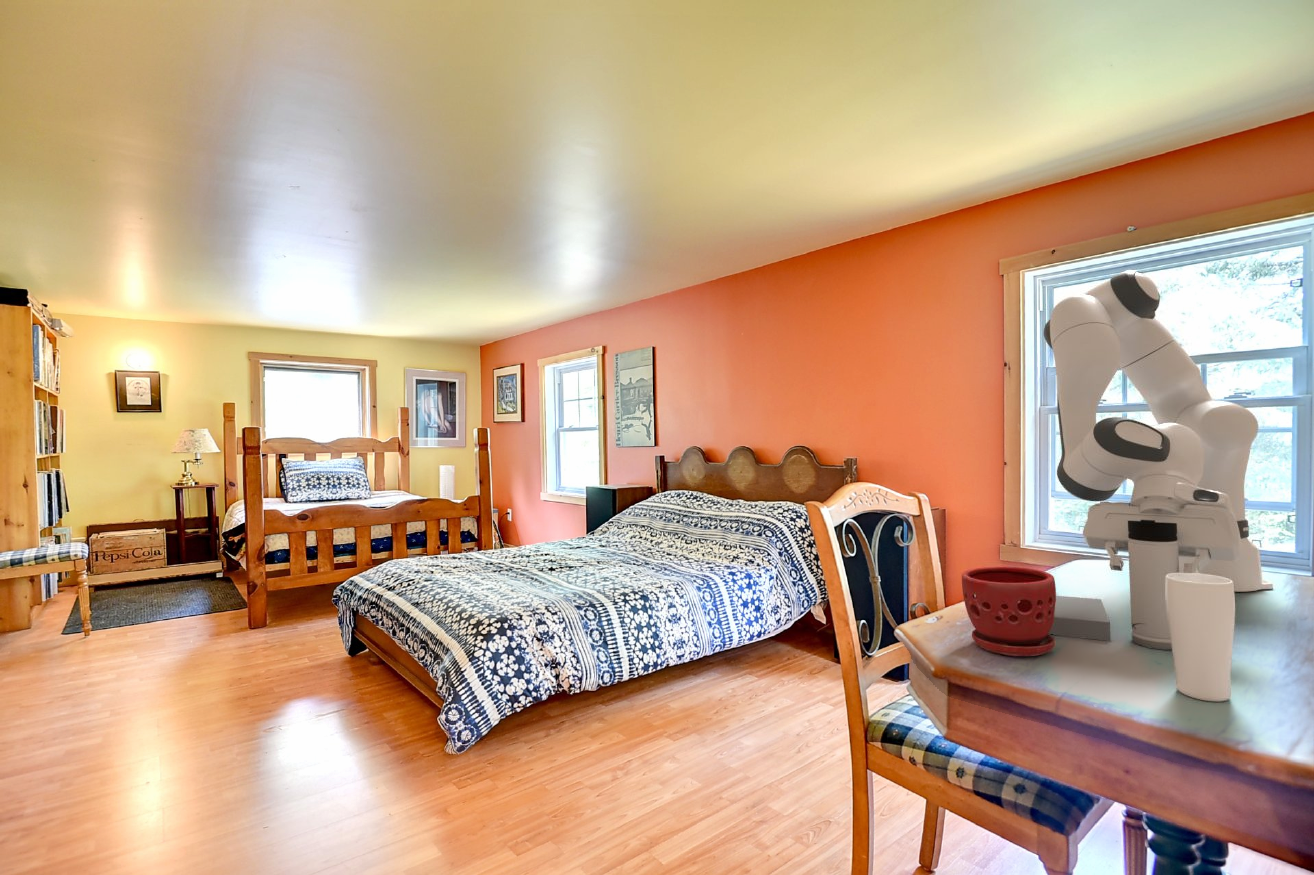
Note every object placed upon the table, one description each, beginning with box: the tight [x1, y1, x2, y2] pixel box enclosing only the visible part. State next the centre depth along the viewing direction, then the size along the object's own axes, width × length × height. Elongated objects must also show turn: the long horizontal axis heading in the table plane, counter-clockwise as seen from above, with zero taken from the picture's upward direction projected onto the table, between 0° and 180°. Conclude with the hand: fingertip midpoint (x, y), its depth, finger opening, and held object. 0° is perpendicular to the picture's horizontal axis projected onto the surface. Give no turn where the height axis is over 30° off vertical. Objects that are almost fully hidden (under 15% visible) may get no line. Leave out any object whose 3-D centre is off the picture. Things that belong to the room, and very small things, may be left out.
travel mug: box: [1127, 519, 1179, 651], centre depth 100 cm, size 6×7×20 cm
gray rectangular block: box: [1018, 595, 1112, 642], centre depth 113 cm, size 16×14×3 cm
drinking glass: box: [1165, 573, 1236, 703], centre depth 81 cm, size 7×7×15 cm
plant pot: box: [961, 566, 1057, 658], centre depth 101 cm, size 13×13×12 cm
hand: (1151, 572), depth 100 cm, fingers open, 8 cm apart
